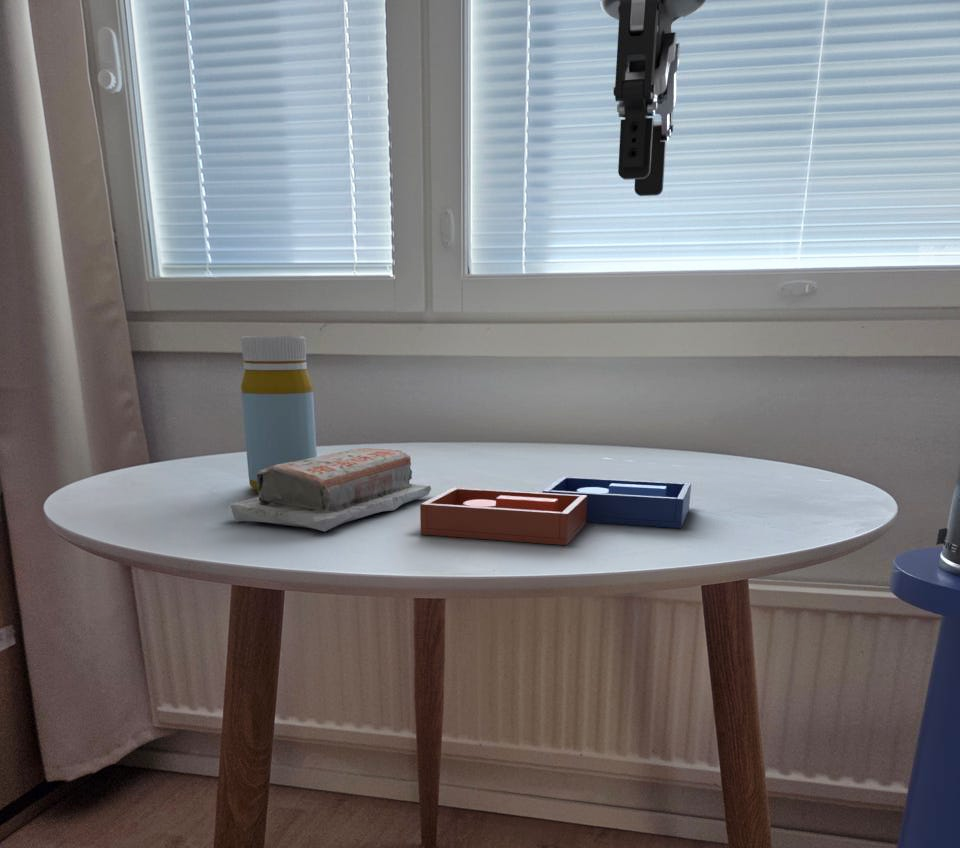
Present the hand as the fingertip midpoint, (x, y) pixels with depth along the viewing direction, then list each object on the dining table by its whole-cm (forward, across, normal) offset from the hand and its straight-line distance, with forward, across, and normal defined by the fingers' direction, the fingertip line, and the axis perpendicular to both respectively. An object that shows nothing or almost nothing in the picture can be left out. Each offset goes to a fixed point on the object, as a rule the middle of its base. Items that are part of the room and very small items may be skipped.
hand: (641, 187), depth 66 cm
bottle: (+26, +6, +36) cm, 45 cm away
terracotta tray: (+26, -5, +9) cm, 28 cm away
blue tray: (+26, +4, +1) cm, 26 cm away
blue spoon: (+26, +4, +1) cm, 26 cm away
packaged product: (+26, -2, +26) cm, 37 cm away
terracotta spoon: (+26, -5, +9) cm, 27 cm away
